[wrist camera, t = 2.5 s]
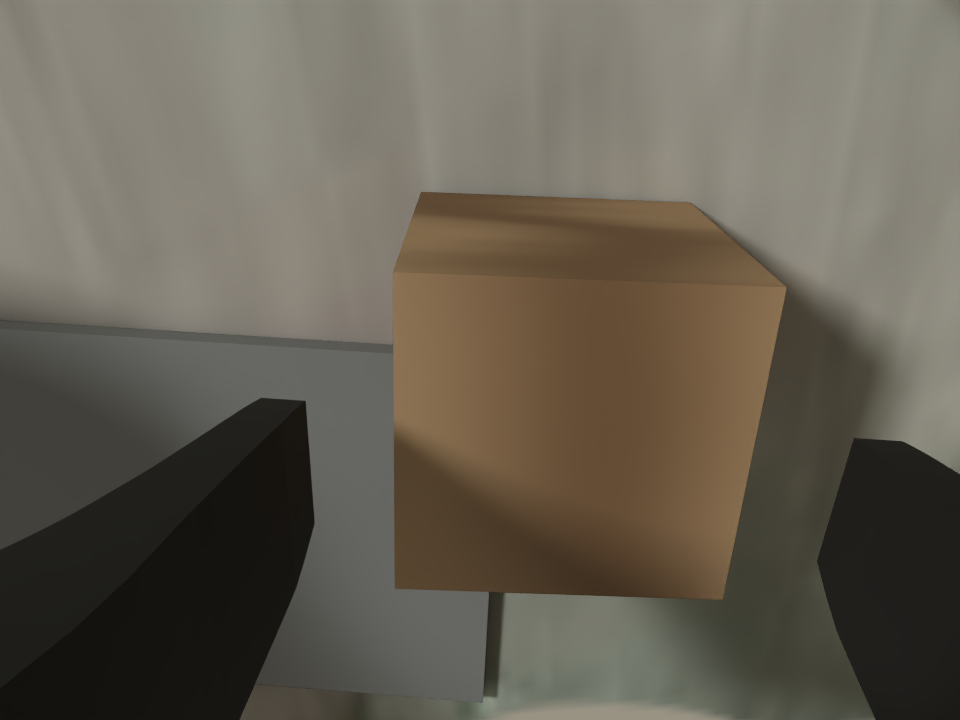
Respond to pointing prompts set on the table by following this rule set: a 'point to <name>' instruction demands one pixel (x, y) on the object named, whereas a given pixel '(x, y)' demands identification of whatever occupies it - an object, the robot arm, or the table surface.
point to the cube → (574, 395)
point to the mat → (195, 410)
